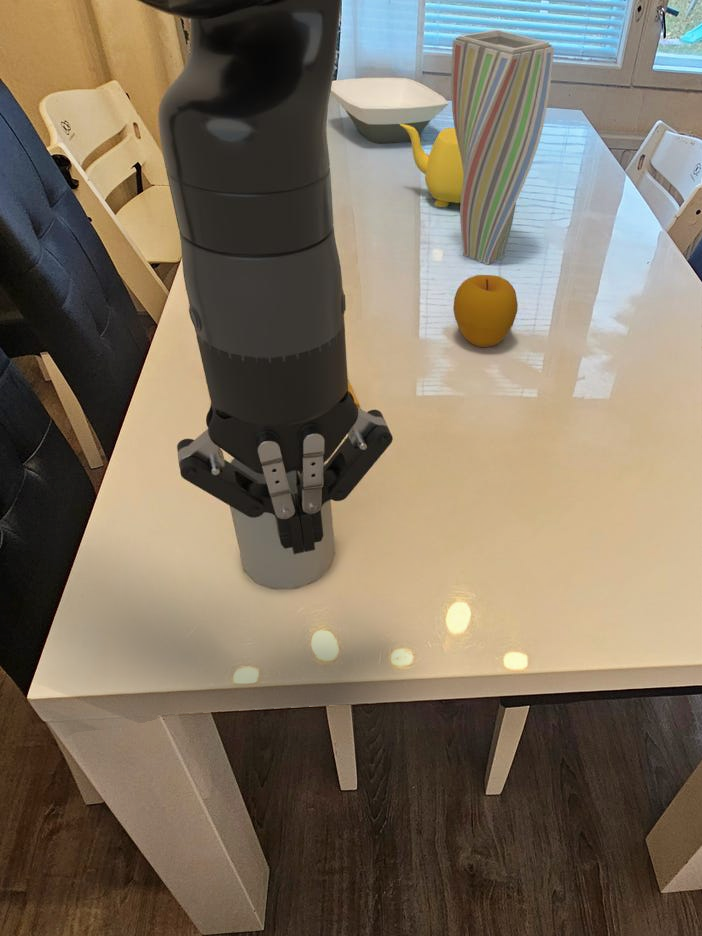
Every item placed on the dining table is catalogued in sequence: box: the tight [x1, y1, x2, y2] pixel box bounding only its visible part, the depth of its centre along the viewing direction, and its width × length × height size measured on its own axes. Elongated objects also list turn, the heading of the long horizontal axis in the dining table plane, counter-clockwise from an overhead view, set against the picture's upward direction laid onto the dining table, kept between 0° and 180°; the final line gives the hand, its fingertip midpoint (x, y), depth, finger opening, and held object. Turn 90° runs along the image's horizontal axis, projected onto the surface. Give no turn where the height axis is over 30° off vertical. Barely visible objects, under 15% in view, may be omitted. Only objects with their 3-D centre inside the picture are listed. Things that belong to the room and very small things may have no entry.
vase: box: [450, 29, 555, 266], centre depth 105 cm, size 14×14×30 cm
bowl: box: [330, 77, 449, 144], centre depth 153 cm, size 22×23×8 cm
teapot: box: [400, 124, 463, 208], centre depth 128 cm, size 14×20×13 cm
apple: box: [452, 274, 519, 348], centre depth 93 cm, size 8×8×9 cm
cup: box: [229, 457, 336, 590], centre depth 62 cm, size 8×8×10 cm
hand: (301, 543), depth 48 cm, fingers closed
